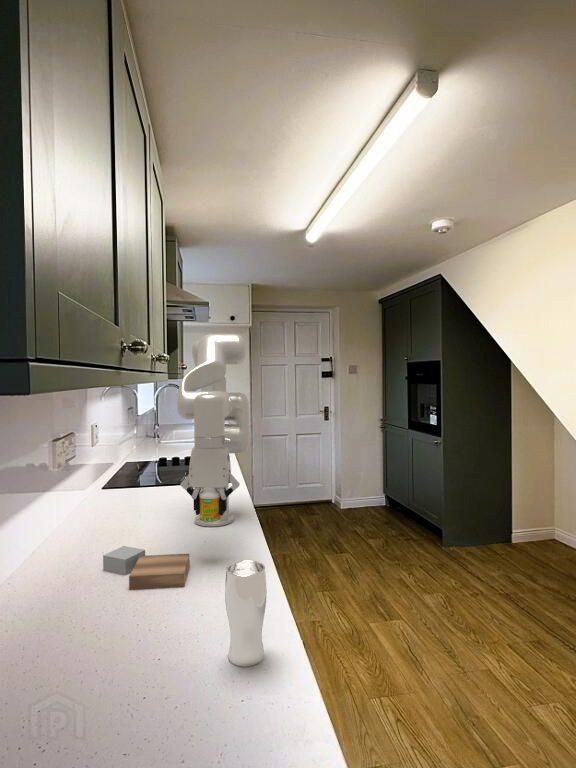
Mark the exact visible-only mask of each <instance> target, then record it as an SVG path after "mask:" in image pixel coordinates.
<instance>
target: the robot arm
mask: <svg viewBox="0 0 576 768" xmlns="http://www.w3.org/2000/svg"><path fill="white" fill-rule="evenodd" d="M191 353H192V358H193V363H194V366H195V367H194V368H192V369H191V370H190V371H188V372H187V373H186V374H185V375H184V377H182V379H181V381H180V383H179V387H178V393H177V403H176V406H177V407H176V408H177V413H178V415H179V416H180V417H181V418H182V419H184V420H194V421H193V427H194V432H193V433H194V434H193V435H194V446H193V447H192V448H191V452H190V459H189V465H188V466H189V467H188V475H186V477H184V479H183V480H182V481H181V483H180V487H181V488H183V489H184V491H186V492H187V494H189V495H190V496H191V499H192V500H193V511H195V518H194V524H196V525H198V526H202V527H221V526H225V525H229V524H231V523H233V522H234V519H235V518H234V515H233V514H231V513H229V510H230V509H229V507H230V506H229V505H230V504H229V501H230V500H229V499H230V497H229V496H230V495H232V493H233V492H234V491H235V490H237V489H238V488H239V487H240V482H239V481H238V479H236V478H235V476H234V475H233V474H232V468H231V467H232V466H231V458H230V454H244V453H246V452H248V451H249V449H250V444H251V428H250V427H251V426H250V406H249V400H248V397H247V396H246V394H244V393H242V392H227V378H226V377H225V376H226V373H227V365H228V366H229V365H234V366H235V365H241V364H243V363H244V361H245V358H246V356H247V345H246V341H245V339H244V337H243V336H242V335H240V334H236V333H208V334H206V335H203V336H202V337H201V338H200V339H198V340H196V341H195V342H194V343H193V344H192V347H191ZM227 421H228V422H234V423H235V424H233V423H232V424H225V422H227ZM230 483H231V484H232V485H231V486H230V487H229V484H230ZM202 488H218V489H217V490H218V491H219V492H220V495H221V499H220V500H219V514H220V515H221V520H220V521H219V522H218V523H214V524H204V523H201V522H200V505H199V496H200V492H201V491H203V489H202Z"/></svg>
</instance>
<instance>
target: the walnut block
mask: <svg viewBox="0 0 576 768" xmlns="http://www.w3.org/2000/svg"><path fill="white" fill-rule="evenodd" d="M190 561H191V560H190V553H174V554H173V553H172V554H152V555H150V554H149V555H145V556H140V557H139V559H138V561H137V563H136V565H135V566H134V568H133V570H132V572H131V573H129V575H128V585H129V586H128V590H129V591H130V590H149V589H150V590H151V589H152V590H153V589H165V588H166V589H167V588H184V587H185V586H186V585H185V584H186V581H187V577H188V572H189V568H190Z"/></svg>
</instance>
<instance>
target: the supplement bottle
mask: <svg viewBox="0 0 576 768" xmlns="http://www.w3.org/2000/svg"><path fill="white" fill-rule="evenodd" d="M202 489H203V491H201V492H200V496H199V505H200V522H201V523H204V524H214V523H218V522H219V521H220V520H221V515H220V514H219V500H220V499H221V495H220V492H219V491H218V490H217V489H218V488H202Z"/></svg>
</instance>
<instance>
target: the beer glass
mask: <svg viewBox="0 0 576 768" xmlns="http://www.w3.org/2000/svg"><path fill="white" fill-rule="evenodd" d="M225 572H226V573H225V584H224V585H225V586H224V599H225V600H224V601H225V610H226V614H227V619H228V620H227V621H228V626H229V632H230V642H229V649H228V655H227V656H228V660H229V662H230V663H231V664H232V665H234V666H237V667H241V668H242V667H243V668H245V667H253V666H256V665H258V664H259V663H261V662H262V661H263V659H264V658H265V649H264V642H263V627H264V619H265V613H266V607H267V606H266V605H267V578H266V577H267V576H266V565H265V564H264V563H262V562H261V561H257V560H252V559H250V560H249V559H248V560H238V561H234V562H232V563H230V564H228V565H227V566H226V569H225Z"/></svg>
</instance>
